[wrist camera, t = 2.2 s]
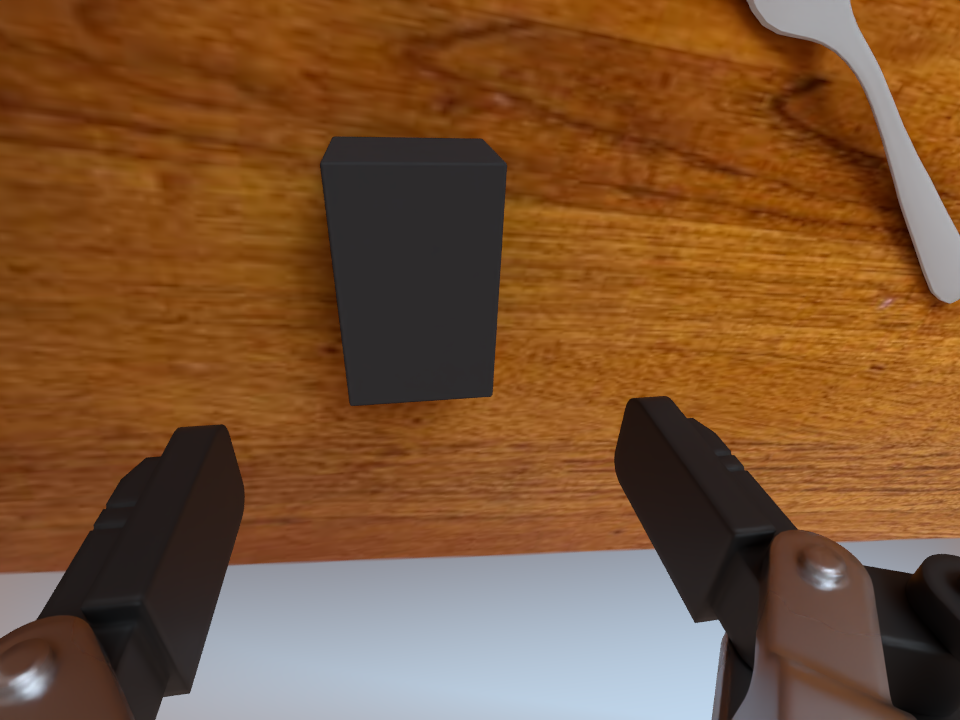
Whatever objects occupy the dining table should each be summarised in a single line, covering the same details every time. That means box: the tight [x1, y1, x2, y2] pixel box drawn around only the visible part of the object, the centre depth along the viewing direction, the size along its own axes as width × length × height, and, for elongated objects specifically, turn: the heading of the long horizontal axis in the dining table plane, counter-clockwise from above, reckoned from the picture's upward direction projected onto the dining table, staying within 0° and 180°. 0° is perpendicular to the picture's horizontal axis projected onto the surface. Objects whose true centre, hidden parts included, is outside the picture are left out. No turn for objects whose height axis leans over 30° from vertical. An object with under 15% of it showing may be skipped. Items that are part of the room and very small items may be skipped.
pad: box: [320, 137, 507, 406], centre depth 17 cm, size 8×5×4 cm, turn 178°
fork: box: [747, 0, 960, 303], centre depth 18 cm, size 3×24×2 cm, turn 47°
